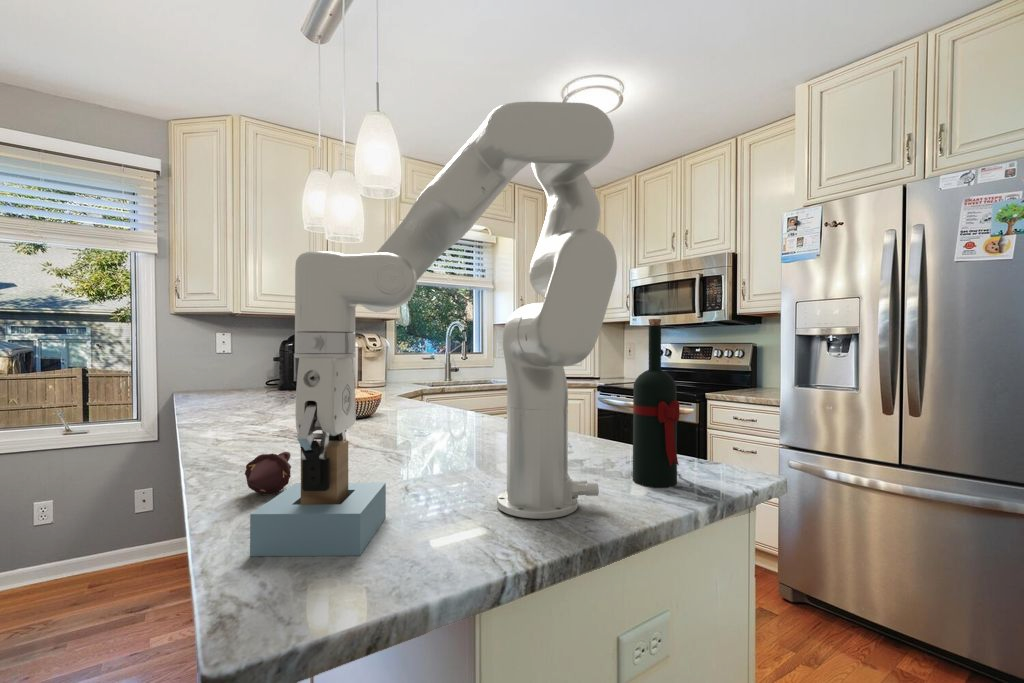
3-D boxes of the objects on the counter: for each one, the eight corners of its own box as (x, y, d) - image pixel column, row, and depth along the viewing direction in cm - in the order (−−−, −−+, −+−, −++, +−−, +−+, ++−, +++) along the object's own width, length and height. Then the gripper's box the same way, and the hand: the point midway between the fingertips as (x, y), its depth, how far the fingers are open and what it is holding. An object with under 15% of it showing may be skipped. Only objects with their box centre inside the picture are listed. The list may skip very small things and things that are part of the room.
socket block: (385, 517, 71) (385, 482, 71) (360, 555, 58) (360, 513, 58) (295, 517, 71) (295, 483, 71) (249, 556, 58) (250, 514, 58)
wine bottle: (654, 493, 83) (654, 316, 83) (624, 477, 93) (625, 319, 93) (694, 489, 85) (694, 317, 85) (661, 474, 95) (661, 320, 95)
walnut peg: (348, 528, 67) (348, 440, 67) (336, 541, 63) (336, 447, 63) (314, 528, 67) (314, 440, 67) (300, 541, 63) (300, 447, 63)
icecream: (280, 465, 76) (310, 452, 91) (232, 454, 75) (270, 443, 90) (266, 510, 75) (299, 490, 90) (218, 499, 75) (258, 480, 90)
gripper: (332, 347, 56) (331, 504, 56) (371, 346, 74) (370, 466, 74) (266, 347, 56) (265, 504, 56) (320, 346, 73) (320, 466, 73)
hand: (325, 481), depth 65 cm, fingers open, 5 cm apart
